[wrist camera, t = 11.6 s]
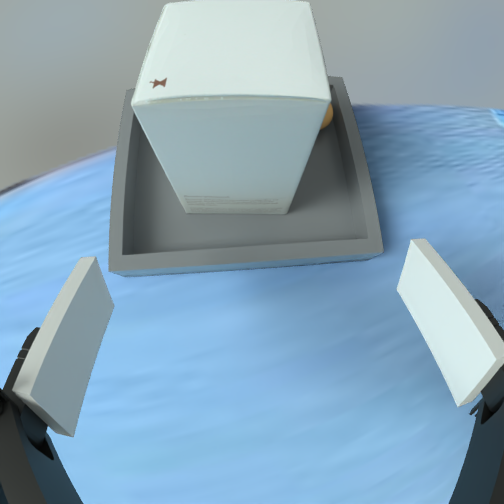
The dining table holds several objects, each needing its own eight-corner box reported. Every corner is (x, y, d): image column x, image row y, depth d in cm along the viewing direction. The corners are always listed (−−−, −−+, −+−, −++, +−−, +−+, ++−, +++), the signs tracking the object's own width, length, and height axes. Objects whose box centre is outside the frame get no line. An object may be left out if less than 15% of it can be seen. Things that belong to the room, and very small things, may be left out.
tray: (334, 98, 25) (342, 77, 22) (367, 260, 22) (383, 252, 19) (136, 110, 24) (126, 89, 21) (125, 277, 21) (108, 271, 18)
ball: (324, 108, 24) (332, 87, 21) (331, 137, 23) (341, 116, 20) (290, 108, 24) (295, 85, 21) (295, 137, 23) (301, 115, 20)
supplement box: (288, 217, 22) (337, 105, 9) (184, 215, 22) (121, 105, 9) (286, 130, 23) (314, -1, 11) (193, 128, 23) (161, -1, 11)
